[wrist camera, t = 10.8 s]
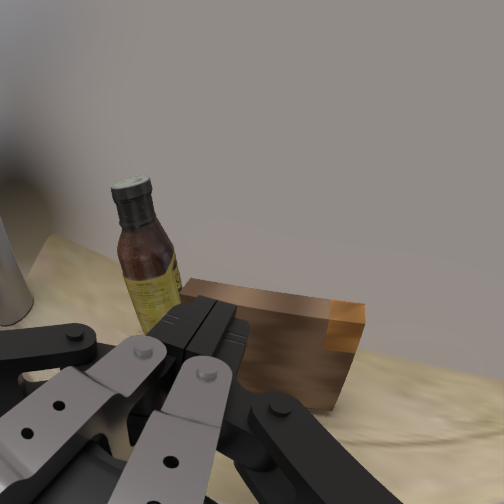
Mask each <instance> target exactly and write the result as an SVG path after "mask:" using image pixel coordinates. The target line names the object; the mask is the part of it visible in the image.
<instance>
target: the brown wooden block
mask: <svg viewBox="0 0 504 504" xmlns="http://www.w3.org/2000/svg"><path fill="white" fill-rule="evenodd" d="M198 295H202V296H206V297H210V298H213V299H217V300H221V301H224V302H228V303H232V304H235V305H237V312H236V316H235V318H239V319H242V320H246V321H247V322H248V324H249V327H250V332H249V336H248V340H247V344H246V348H245V352H244V357H243V361H242V364H241V367H240V369H239V373H238V376H237V380H238V382H239V383H240V384H241V385H242V386H243V387H244V388H245V389H246V390H248V391H250V392H251V393H253V394H255V395H257V396H258V395H259V394H261V393H264V392H268V391H279V392H283V393H287V394H289V395H291V396H293V397H295V398H296V399H298V400H299V401H300V402H301V403H302V404H303V405H304V407H307V408H313V409H321V410H329V411H332V410H333V408H334V406H335V404H336V401H337V399H338V397H339V394H340V392H341V389H342V387H343V384H344V382H345V379H346V377H347V374H348V372H349V369H350V366H351V364H352V361H353V358H354V356H355V353H356V350H357V347H358V344H359V341H360V338H361V335H362V332H363V329H364V326H365V304H362V303H353V302H345V301H337V300H330V299H322V298H314V297H307V296H300V295H293V294H287V293H279V292H273V291H266V290H260V289H253V288H247V287H241V286H234V285H229V284H223V283H217V282H211V281H204V280H199V279H194V278H190V279H189V281H188V282H187V283H186V285H185V286H184V287H183V289H182V290H181V291H180V293H179V297H180V301H181V303H186V304H189V305H191V303H192V302H193V301H194V300H195V299H196V298H197V296H198Z"/></svg>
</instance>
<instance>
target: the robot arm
mask: <svg viewBox="0 0 504 504" xmlns="http://www.w3.org/2000/svg"><path fill="white" fill-rule="evenodd" d="M32 304H33V297H32V295H31V293H30V291H29V289H28V287H27V284H26V282H25V280H24V278H23V275H22V273H21V271H20V269H19V266H18V264H17V261H16V259H15V256H14V254H13V251H12V249H11V246H10V243H9V241H8V238H7V235H6V232H5V229H4V226H3V223H2V220H1V217H0V325H5V326H6V325H10V324H13V323H15V322H17V321H19V320H20V319H22V318H23V317H24V316H25V315H26V314H27V313H28V311H29V310H30V309H31V307H32ZM236 312H237V305H235V304H232V303H228V302H224V301H221V300H217V299H213V298H210V297H206V296H202V295H198V296H197V298H196V299H195V300H194V301H193V302H192V303H191V305H189V304H186V303H181V304H179V305H176V306H173V307H172V308H171V309H170V310H169V311H168V312H167V314H165V315H164V316H163V317H162V319H161V320H160V321H159V322H158V323H157V324H156V325H155V326H154V327H153V328H152V329H151V330H150V331H149V332H148V333H147V334H146V335H145V336H144V335H137V336H131V337H129V338H126V339H125V340H123V341H122V342H121V343H120V344H119V345H117V346H113V345H108V344H103V343H97V340H96V333H95V331H94V330H93V329H92V328H90V327H89V326H87V325H84V324H79V323H70V324H62V325H53V326H44V327H35V328H26V329H16V330H5V331H0V504H218V503H216V502H215V501H213V500H212V499H210V498H209V497H207V496H205V494H206V490H207V485H208V481H209V477H210V473H211V468H212V464H213V460H214V455H215V451H216V450H217V451H218V452H220V453H222V454H224V455H225V456H227V457H229V458H231V459H232V460H234V466H235V468H236V470H237V471H238V473H239V474H240V476H241V477H242V479H243V480H244V482H245V483H246V485H247V486H248V488H249V489H250V491H251V492H252V494H253V495H254V497H255V498H256V500H257V501H258V502H259V504H403V503H402V502H401V501H400V500H399V499H397V498H396V497H395V496H394V495H393V494H392V493H391V492H390V491H389V490H387V489H386V488H385V487H384V486H383V485H382V484H381V483H380V482H379V481H378V480H377V479H375V478H374V477H373V476H372V475H371V474H370V473H369V472H368V471H367V470H366V469H365V468H364V467H363V466H362V465H361V464H360V463H359V462H358V461H357V460H356V459H355V458H354V457H353V456H352V455H351V454H350V453H349V452H348V451H347V450H346V449H345V448H344V447H343V446H342V445H341V444H340V443H339V442H338V441H337V440H336V439H335V438H334V437H333V436H332V435H331V434H330V433H329V432H328V431H327V430H326V429H325V428H324V427H323V426H322V425H321V424H320V423H319V422H318V420H317V419H316V418H315V417H314V416H313V415H312V414H311V413H310V412H309V411H308V410H307V409H306V408H305V407H304V405H303V404H302V403H301V402H300V401H299V400H298V399H296V398H295V397H293V396H291V395H289V394H287V393H283V392H279V391H268V392H264V393H261V394H259V395H258V396H257V395H255V394H253V393H251V392H250V391H248V390H246V389H245V388H244V387H243V386H242V385H241V384H240V383H239V382H238V380H237V376H238V373H239V369H240V367H241V364H242V361H243V357H244V352H245V348H246V344H247V340H248V336H249V332H250V327H249V324H248V322H247V321H246V320H242V319H239V318H235V316H236ZM53 368H60V372H59V373H57V374H56V375H55V376H54V377H52V378H51V379H50V380H46V381H39V382H28V381H26V380H25V379H24V378H23V376H22V373H24V372H31V371H39V370H46V369H53Z"/></svg>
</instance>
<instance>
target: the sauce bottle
mask: <svg viewBox="0 0 504 504" xmlns="http://www.w3.org/2000/svg"><path fill="white" fill-rule="evenodd" d="M111 192H112V198H113V200H114V203H116V206H117V211H118V215H119V219H120V221H119V224H120V225H121V227H122V232H121V235H120V238H119V242H118V247H117V253H118V258H119V261H120V264H121V267H122V270H123V277H124V280H125V283H126V286H127V289H128V292H129V295H130V297H131V300H132V303H133V306H134V308H135V311H136V314H137V316H138V319H139V321H140V324H141V326H142V329H143V332H144V334H147V333H148V332H149V331H150V330H151V329H152V328H153V327H154V326H155V325H156V324H157V323H158V322H159V321H160V320H161V319H162V317H163V316H164V315H165V314H167V312H168V311H169V310H170V309H171V308H172V307H173V306H176V305H179V304H181V301H180V297H179V293H180V291H181V290H182V289H183V288H182V284H181V278H180V273H179V270H178V266H177V260H176V255H175V251H174V246H173V244H172V243H171V241H170V239H169V238H168V236H167V234H166V233H165V231H164V229H163V227H162V226H161V224H160V222H159V221H158V219H157V217H156V214H155V212H154V207H153V201H152V197H151V193H152V185H151V181H150V178H149V177H148V176H136V177H130V178H126V179H123V180H121V181H118V182H116V183H115V184H113V185H112V186H111Z"/></svg>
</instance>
